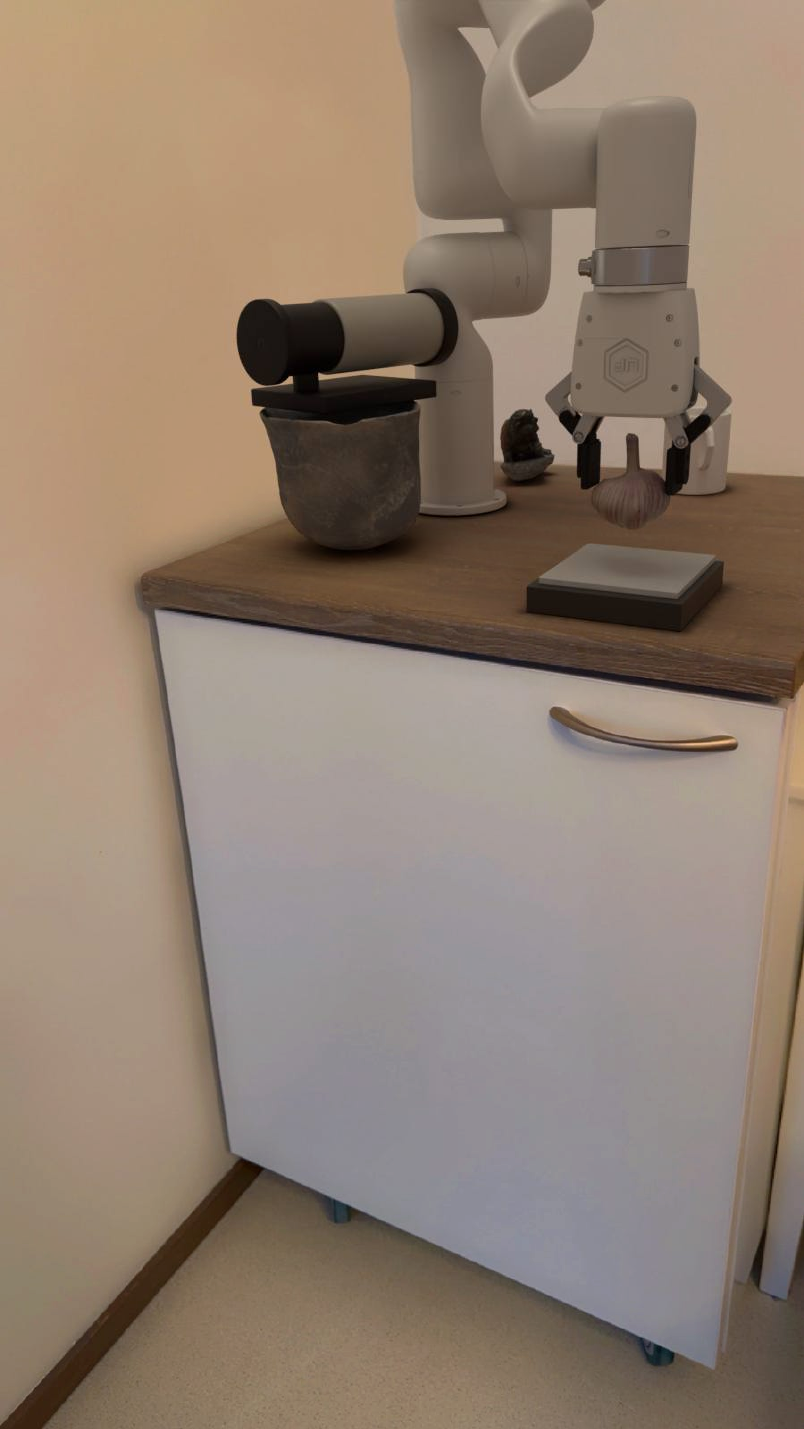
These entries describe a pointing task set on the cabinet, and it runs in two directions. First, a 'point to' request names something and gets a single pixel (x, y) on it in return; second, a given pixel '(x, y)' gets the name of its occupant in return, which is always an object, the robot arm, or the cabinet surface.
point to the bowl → (348, 472)
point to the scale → (628, 586)
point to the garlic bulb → (631, 493)
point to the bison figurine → (523, 447)
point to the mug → (705, 455)
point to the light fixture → (344, 349)
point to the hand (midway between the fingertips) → (631, 487)
